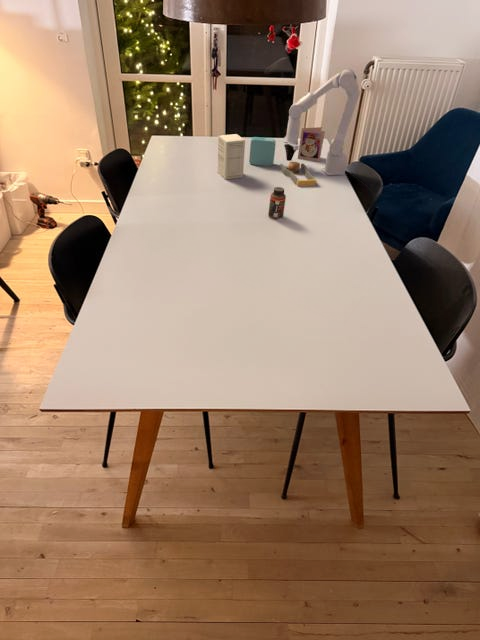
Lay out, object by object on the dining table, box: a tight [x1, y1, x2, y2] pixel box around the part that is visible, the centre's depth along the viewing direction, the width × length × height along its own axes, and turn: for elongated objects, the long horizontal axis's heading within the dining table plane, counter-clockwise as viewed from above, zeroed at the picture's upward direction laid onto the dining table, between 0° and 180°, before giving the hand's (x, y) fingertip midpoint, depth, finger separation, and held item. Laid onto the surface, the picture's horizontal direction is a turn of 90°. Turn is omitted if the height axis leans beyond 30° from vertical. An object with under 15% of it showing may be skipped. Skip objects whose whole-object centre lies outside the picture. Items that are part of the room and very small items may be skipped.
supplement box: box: [217, 133, 246, 180], centre depth 197 cm, size 10×9×17 cm
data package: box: [248, 136, 276, 167], centre depth 213 cm, size 12×4×12 cm, turn 87°
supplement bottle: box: [267, 186, 287, 220], centre depth 168 cm, size 6×6×11 cm
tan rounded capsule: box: [287, 161, 301, 175], centre depth 210 cm, size 5×5×4 cm
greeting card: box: [297, 126, 326, 163], centre depth 223 cm, size 11×7×15 cm, turn 77°
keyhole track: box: [279, 163, 317, 187], centre depth 205 cm, size 21×12×2 cm, turn 15°
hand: (288, 160), depth 215 cm, fingers closed
